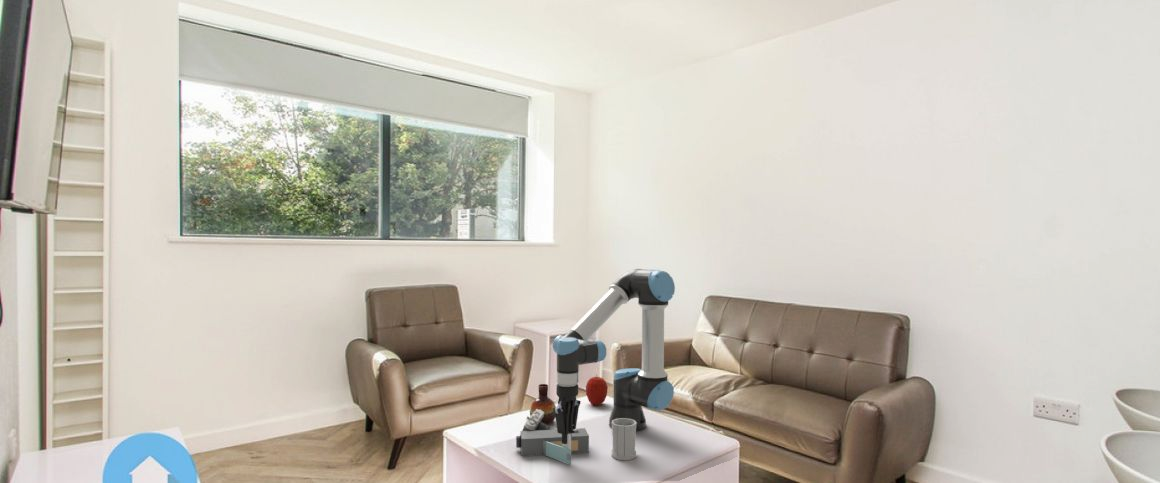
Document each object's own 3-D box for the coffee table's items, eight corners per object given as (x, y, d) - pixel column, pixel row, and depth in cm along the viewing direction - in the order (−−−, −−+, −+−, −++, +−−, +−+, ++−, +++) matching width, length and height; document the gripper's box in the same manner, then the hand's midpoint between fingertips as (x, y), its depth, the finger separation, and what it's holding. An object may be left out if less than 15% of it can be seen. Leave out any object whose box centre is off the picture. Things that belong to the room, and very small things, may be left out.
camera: (514, 441, 206) (525, 417, 204) (527, 425, 221) (537, 403, 220) (536, 453, 204) (547, 429, 203) (547, 436, 220) (558, 414, 218)
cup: (610, 449, 202) (611, 416, 202) (635, 449, 202) (636, 416, 202) (611, 460, 192) (611, 426, 192) (637, 461, 192) (638, 426, 192)
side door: (571, 463, 188) (571, 449, 188) (569, 464, 187) (569, 450, 187) (544, 453, 197) (544, 440, 196) (542, 454, 196) (542, 441, 196)
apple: (607, 408, 251) (607, 377, 251) (585, 407, 252) (585, 377, 252) (607, 401, 262) (607, 372, 261) (586, 401, 262) (586, 371, 262)
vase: (555, 426, 226) (555, 389, 226) (528, 426, 226) (528, 388, 226) (556, 418, 237) (557, 382, 237) (531, 417, 237) (531, 381, 237)
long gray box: (584, 444, 207) (585, 426, 207) (588, 452, 199) (589, 433, 199) (515, 447, 203) (516, 429, 203) (517, 456, 195) (517, 437, 195)
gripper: (569, 378, 199) (569, 444, 199) (547, 385, 188) (546, 455, 188) (587, 381, 194) (586, 449, 194) (564, 389, 184) (563, 460, 184)
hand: (566, 452), depth 191 cm, fingers closed
